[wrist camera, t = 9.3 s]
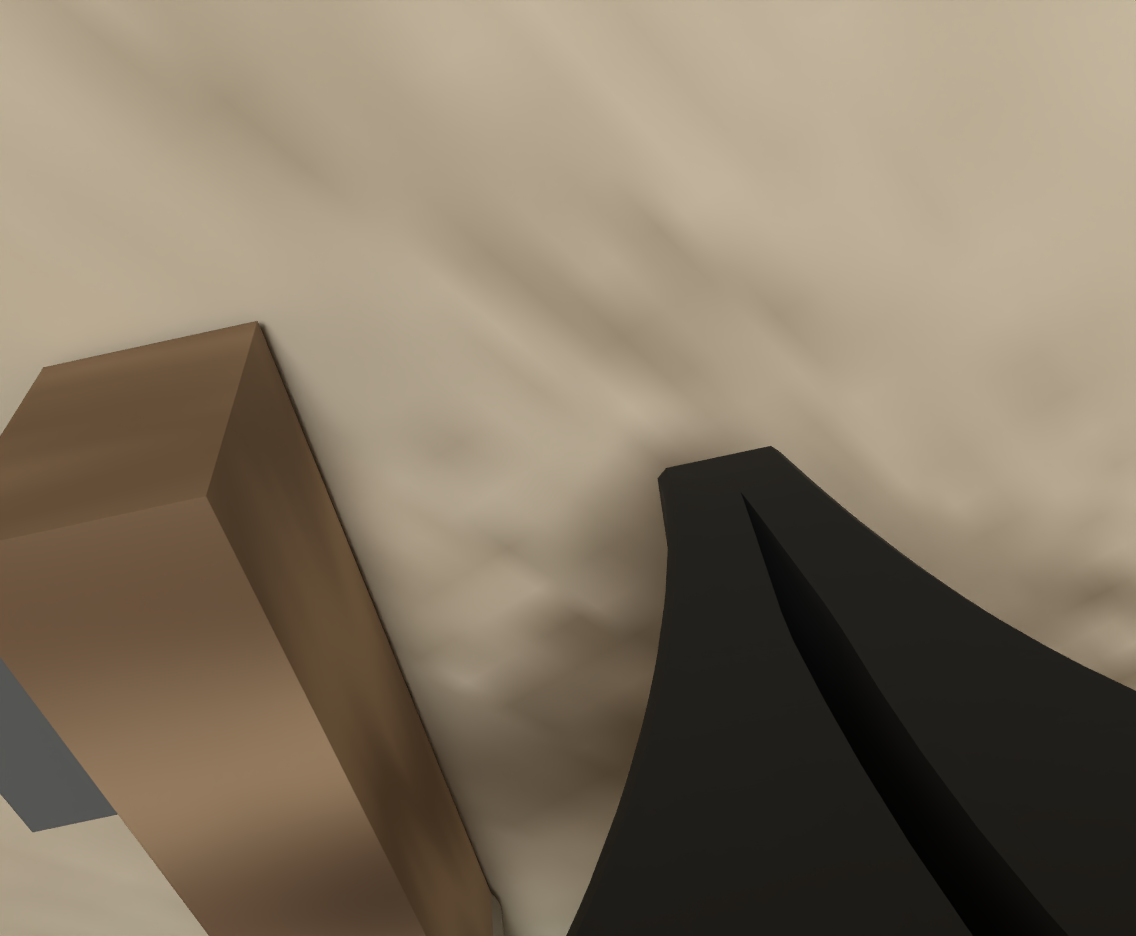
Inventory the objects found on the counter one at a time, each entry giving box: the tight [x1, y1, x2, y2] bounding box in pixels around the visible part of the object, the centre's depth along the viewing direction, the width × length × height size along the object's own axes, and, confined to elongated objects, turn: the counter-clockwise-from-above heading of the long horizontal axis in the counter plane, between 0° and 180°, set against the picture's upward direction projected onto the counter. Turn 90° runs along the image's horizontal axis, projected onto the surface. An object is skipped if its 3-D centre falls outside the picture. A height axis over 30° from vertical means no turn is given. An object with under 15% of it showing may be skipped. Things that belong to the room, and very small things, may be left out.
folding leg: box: [0, 321, 504, 936], centre depth 17 cm, size 17×3×4 cm, turn 10°
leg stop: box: [0, 658, 117, 832], centre depth 15 cm, size 2×5×3 cm, turn 10°
